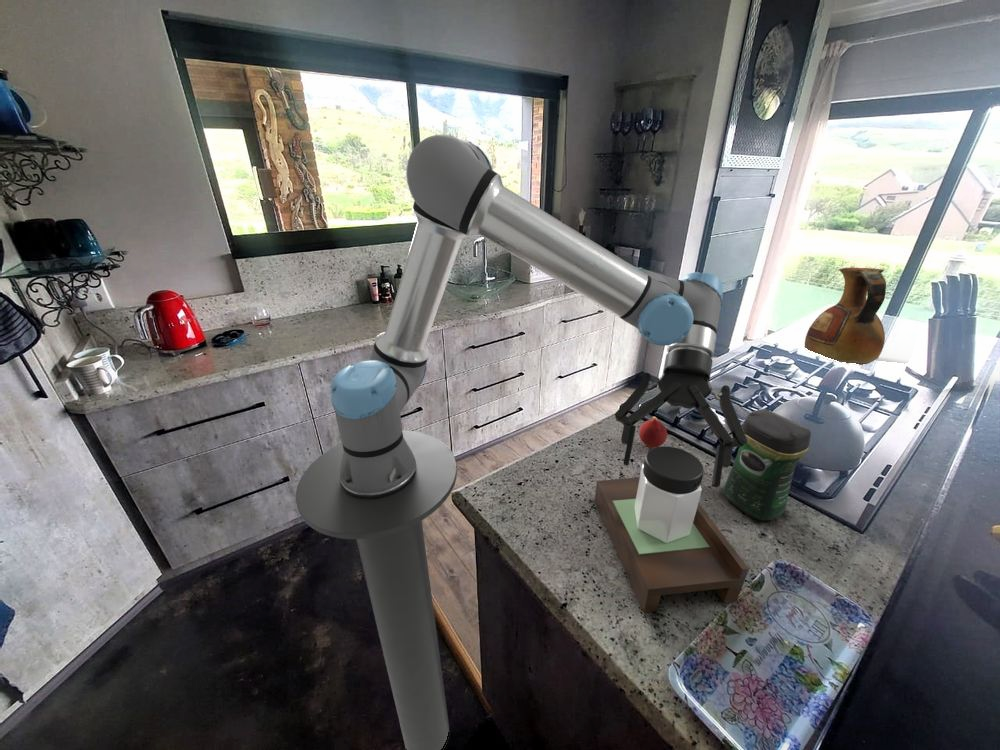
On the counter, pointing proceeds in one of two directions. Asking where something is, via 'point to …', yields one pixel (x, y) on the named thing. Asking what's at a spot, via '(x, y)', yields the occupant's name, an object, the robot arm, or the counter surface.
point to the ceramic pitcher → (852, 320)
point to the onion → (653, 433)
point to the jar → (668, 493)
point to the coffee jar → (766, 464)
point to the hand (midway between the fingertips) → (668, 475)
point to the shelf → (668, 551)
